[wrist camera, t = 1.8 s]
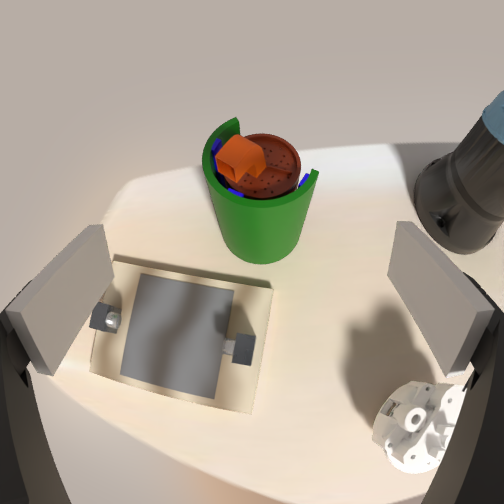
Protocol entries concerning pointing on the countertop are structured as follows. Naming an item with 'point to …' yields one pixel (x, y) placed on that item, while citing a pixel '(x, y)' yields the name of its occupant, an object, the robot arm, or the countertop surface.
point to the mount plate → (182, 336)
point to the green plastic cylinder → (256, 192)
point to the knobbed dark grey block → (106, 318)
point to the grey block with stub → (240, 348)
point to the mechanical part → (418, 424)
